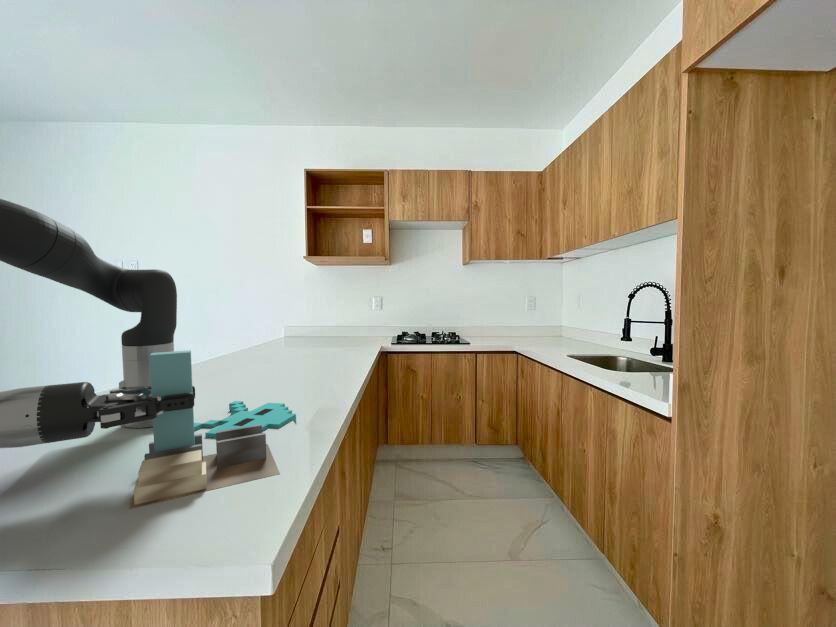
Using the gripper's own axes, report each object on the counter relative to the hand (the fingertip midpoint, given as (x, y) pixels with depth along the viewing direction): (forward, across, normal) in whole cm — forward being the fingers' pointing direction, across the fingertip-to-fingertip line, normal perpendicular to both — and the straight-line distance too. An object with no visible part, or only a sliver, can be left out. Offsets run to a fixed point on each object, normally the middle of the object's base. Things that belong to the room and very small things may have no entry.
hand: (193, 396), depth 58 cm
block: (-3, 0, +11) cm, 11 cm away
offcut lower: (-3, -6, +11) cm, 13 cm away
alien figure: (+9, +20, +13) cm, 25 cm away
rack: (+2, -3, +12) cm, 13 cm away
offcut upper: (-3, -6, +9) cm, 11 cm away
